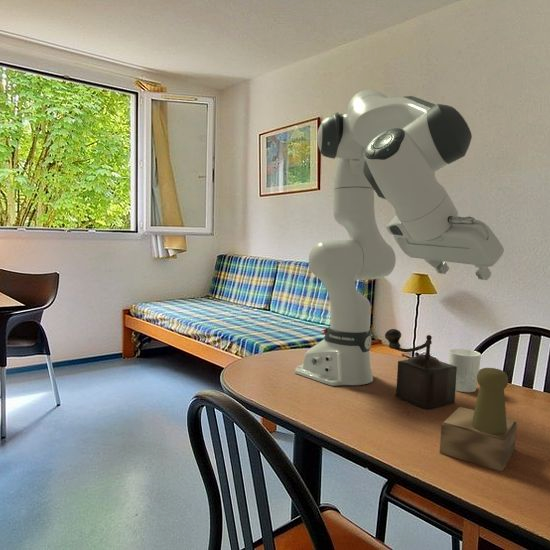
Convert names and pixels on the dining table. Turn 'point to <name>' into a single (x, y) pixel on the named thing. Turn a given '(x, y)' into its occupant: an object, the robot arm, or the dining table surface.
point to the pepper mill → (423, 376)
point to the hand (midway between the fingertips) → (463, 274)
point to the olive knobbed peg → (490, 402)
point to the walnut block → (476, 441)
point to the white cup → (465, 368)
